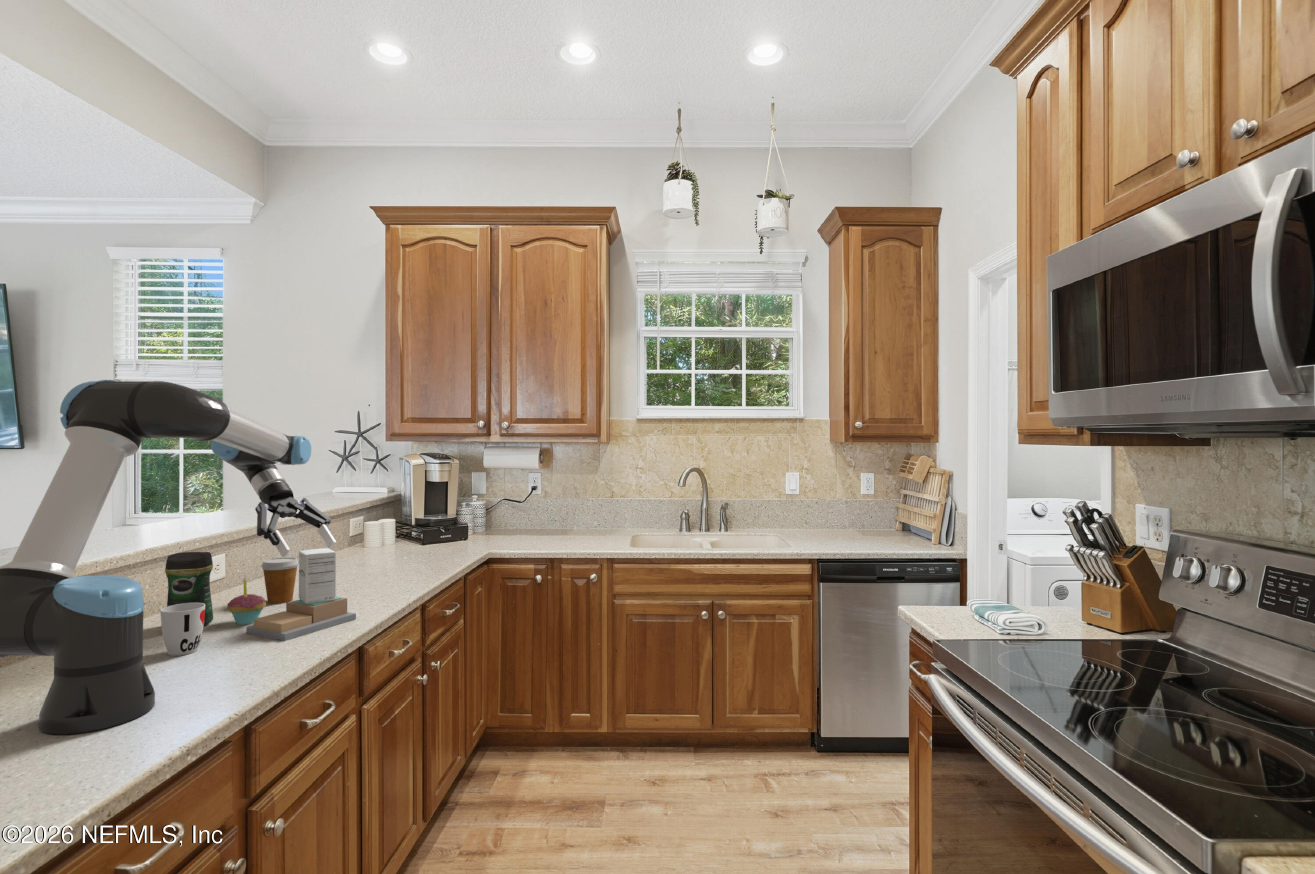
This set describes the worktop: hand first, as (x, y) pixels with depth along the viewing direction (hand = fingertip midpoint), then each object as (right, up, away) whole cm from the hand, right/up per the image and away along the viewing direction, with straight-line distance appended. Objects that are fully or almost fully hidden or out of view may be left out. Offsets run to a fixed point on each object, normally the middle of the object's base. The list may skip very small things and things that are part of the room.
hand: (310, 549), depth 171 cm
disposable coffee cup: (-19, -19, +19) cm, 32 cm away
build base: (+1, -18, -6) cm, 19 cm away
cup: (-15, -19, -26) cm, 35 cm away
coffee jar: (-28, -19, -6) cm, 34 cm away
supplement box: (+3, -13, -2) cm, 13 cm away
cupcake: (-15, -19, -3) cm, 24 cm away
